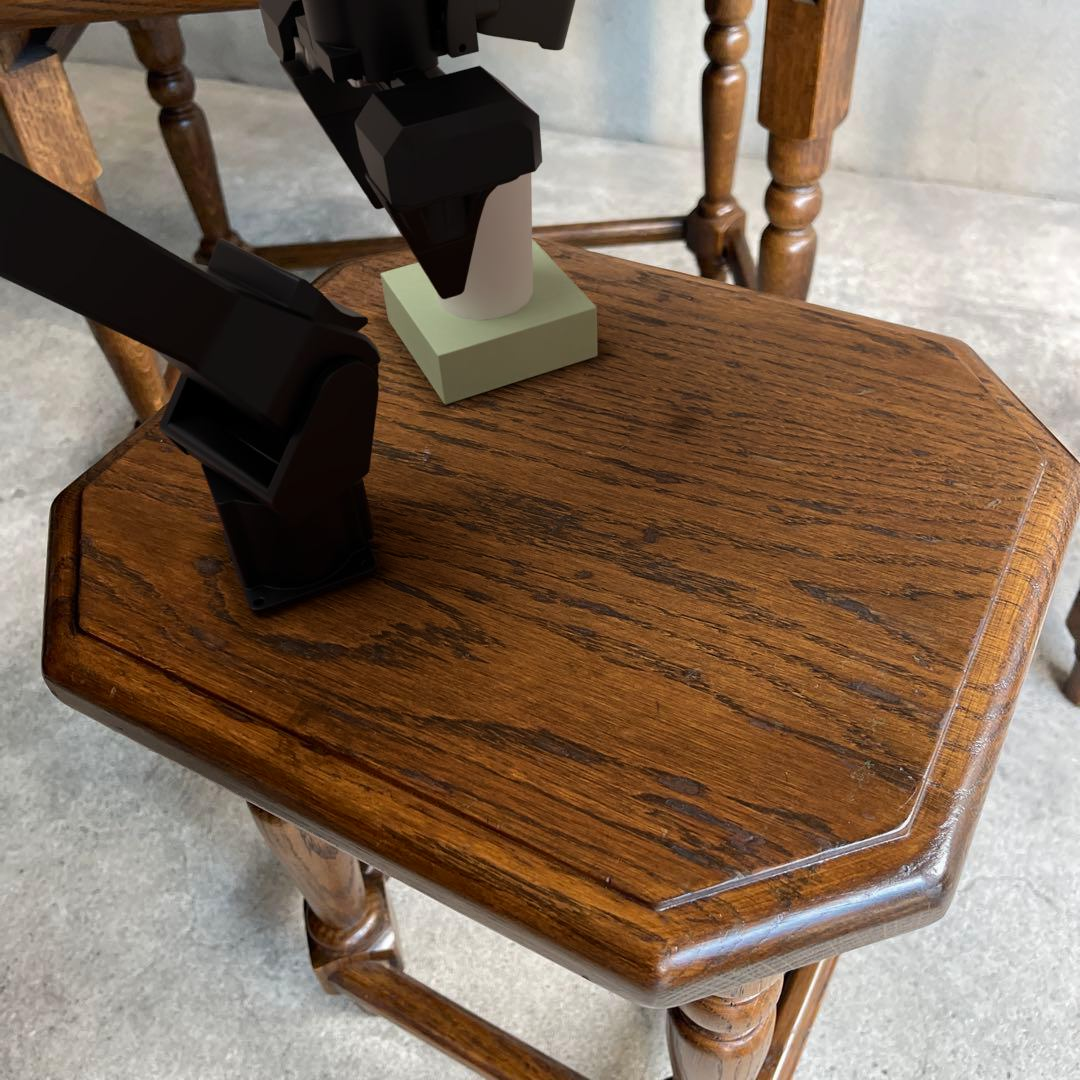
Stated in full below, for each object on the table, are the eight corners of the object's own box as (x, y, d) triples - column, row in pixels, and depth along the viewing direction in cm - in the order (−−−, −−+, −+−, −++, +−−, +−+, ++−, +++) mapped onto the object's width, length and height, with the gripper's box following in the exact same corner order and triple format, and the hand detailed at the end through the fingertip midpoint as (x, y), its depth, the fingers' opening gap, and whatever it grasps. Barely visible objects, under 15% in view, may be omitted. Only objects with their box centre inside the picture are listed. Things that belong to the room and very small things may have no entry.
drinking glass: (535, 325, 63) (524, 159, 56) (420, 324, 64) (396, 160, 57) (545, 263, 68) (536, 103, 61) (438, 263, 69) (418, 105, 62)
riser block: (444, 405, 64) (437, 355, 62) (388, 320, 71) (379, 272, 68) (598, 356, 67) (597, 306, 64) (529, 279, 73) (526, 231, 71)
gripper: (666, -100, 37) (661, 294, 48) (460, -206, 49) (494, 129, 61) (354, -28, 34) (425, 372, 46) (217, -159, 47) (299, 182, 58)
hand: (416, 248), depth 52 cm, fingers open, 9 cm apart
